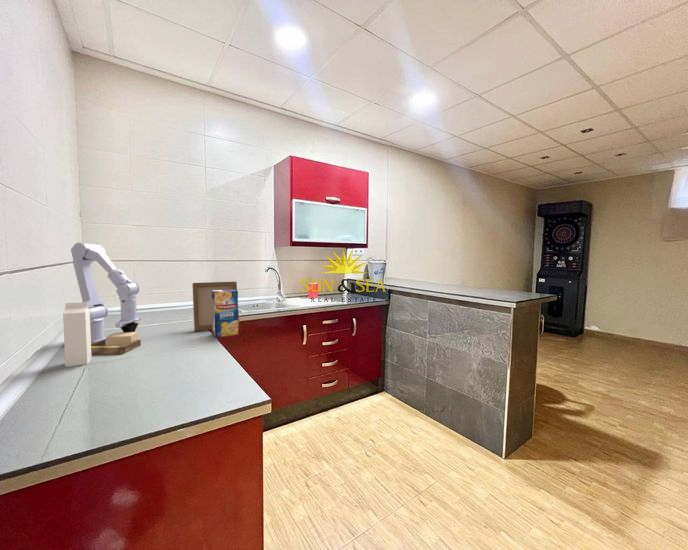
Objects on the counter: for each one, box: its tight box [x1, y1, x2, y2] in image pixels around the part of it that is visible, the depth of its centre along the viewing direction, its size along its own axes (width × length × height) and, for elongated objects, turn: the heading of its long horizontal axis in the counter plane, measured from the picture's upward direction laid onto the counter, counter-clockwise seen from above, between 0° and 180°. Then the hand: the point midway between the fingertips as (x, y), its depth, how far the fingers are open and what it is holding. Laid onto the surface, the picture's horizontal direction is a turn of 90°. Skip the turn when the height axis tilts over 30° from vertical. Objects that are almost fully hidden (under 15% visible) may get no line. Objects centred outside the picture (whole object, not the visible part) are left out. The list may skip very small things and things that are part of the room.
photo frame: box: [192, 281, 240, 332], centre depth 162 cm, size 15×22×25 cm
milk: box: [62, 301, 92, 368], centre depth 106 cm, size 6×6×22 cm
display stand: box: [91, 339, 142, 355], centre depth 122 cm, size 16×12×3 cm
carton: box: [105, 331, 139, 347], centre depth 128 cm, size 9×7×5 cm
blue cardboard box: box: [211, 289, 239, 338], centre depth 148 cm, size 7×11×22 cm, turn 124°
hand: (129, 339), depth 133 cm, fingers closed
